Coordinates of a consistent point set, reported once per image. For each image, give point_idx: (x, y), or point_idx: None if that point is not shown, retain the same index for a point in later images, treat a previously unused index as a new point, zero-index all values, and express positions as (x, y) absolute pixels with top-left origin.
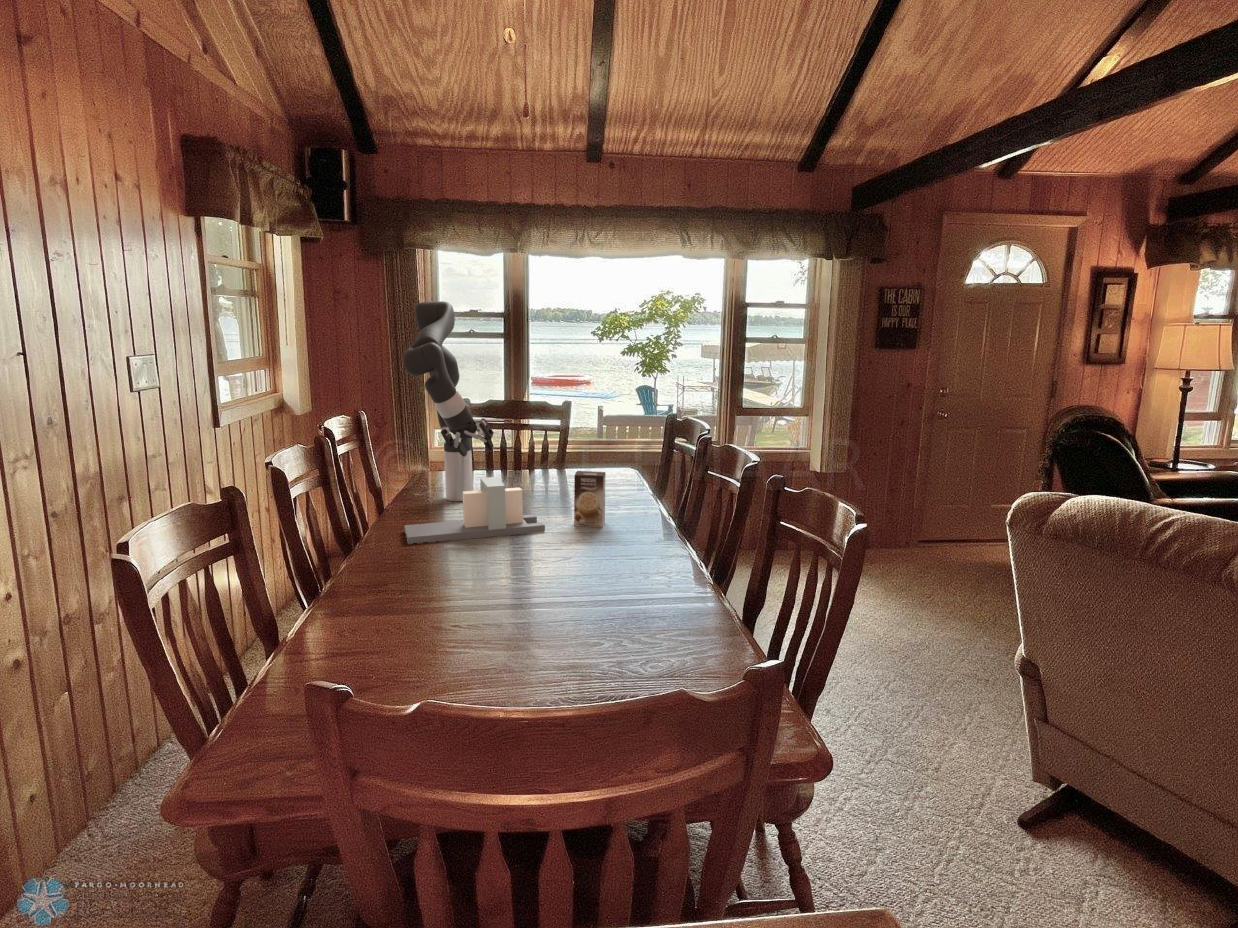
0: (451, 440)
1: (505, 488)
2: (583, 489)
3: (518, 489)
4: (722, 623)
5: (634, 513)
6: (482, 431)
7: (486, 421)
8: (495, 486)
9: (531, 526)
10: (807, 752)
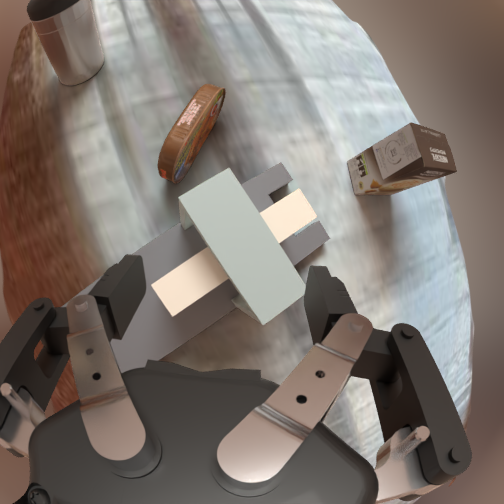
0: (46, 335)
1: (201, 91)
2: (415, 177)
3: (305, 213)
4: (465, 419)
5: (395, 117)
6: (352, 369)
7: (462, 431)
8: (283, 309)
9: (309, 253)
10: (452, 482)
